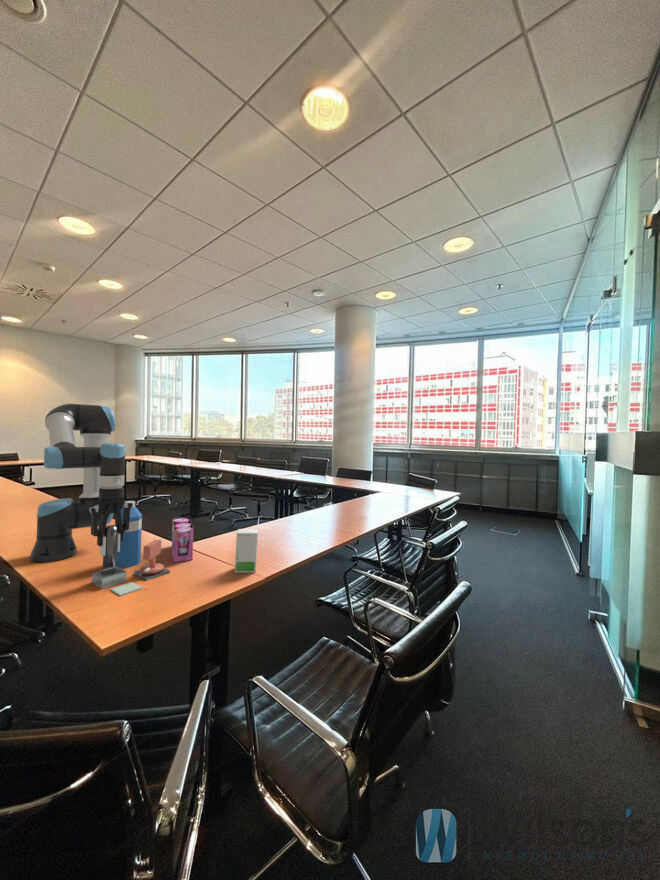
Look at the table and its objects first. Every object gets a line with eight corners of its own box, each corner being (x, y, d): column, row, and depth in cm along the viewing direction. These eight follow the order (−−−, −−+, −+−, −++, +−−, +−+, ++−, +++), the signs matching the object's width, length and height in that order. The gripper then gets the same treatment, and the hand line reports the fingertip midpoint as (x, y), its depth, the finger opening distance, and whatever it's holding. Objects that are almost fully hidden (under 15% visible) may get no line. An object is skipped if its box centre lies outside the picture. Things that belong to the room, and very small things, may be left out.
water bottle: (128, 569, 133) (130, 504, 133) (107, 566, 135) (109, 503, 135) (145, 560, 142) (147, 500, 142) (126, 558, 144) (128, 499, 144)
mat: (110, 590, 115) (110, 588, 115) (132, 583, 121) (132, 581, 121) (120, 596, 111) (120, 594, 111) (142, 588, 117) (142, 587, 117)
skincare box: (234, 573, 133) (235, 533, 132) (236, 566, 139) (237, 528, 139) (256, 572, 134) (257, 532, 134) (257, 566, 140) (258, 528, 140)
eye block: (91, 582, 120) (92, 572, 120) (116, 575, 127) (116, 566, 127) (101, 589, 116) (101, 578, 116) (126, 581, 122) (126, 571, 122)
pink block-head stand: (147, 565, 134) (148, 539, 134) (167, 566, 134) (168, 540, 133) (134, 574, 125) (135, 546, 125) (156, 575, 125) (157, 547, 125)
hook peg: (100, 565, 121) (101, 526, 121) (113, 562, 124) (114, 524, 124) (107, 570, 118) (109, 529, 118) (120, 566, 121) (121, 527, 121)
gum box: (193, 561, 144) (194, 529, 143) (172, 563, 140) (173, 530, 140) (189, 544, 165) (190, 516, 165) (171, 546, 162) (172, 517, 161)
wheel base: (133, 574, 129) (133, 570, 129) (157, 567, 136) (157, 563, 136) (145, 580, 123) (146, 577, 123) (169, 572, 131) (169, 569, 131)
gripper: (88, 491, 112) (86, 562, 112) (141, 485, 126) (139, 549, 126) (79, 488, 116) (77, 556, 117) (131, 483, 130) (129, 544, 131)
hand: (109, 552), depth 122 cm, fingers closed on hook peg, 4 cm apart
